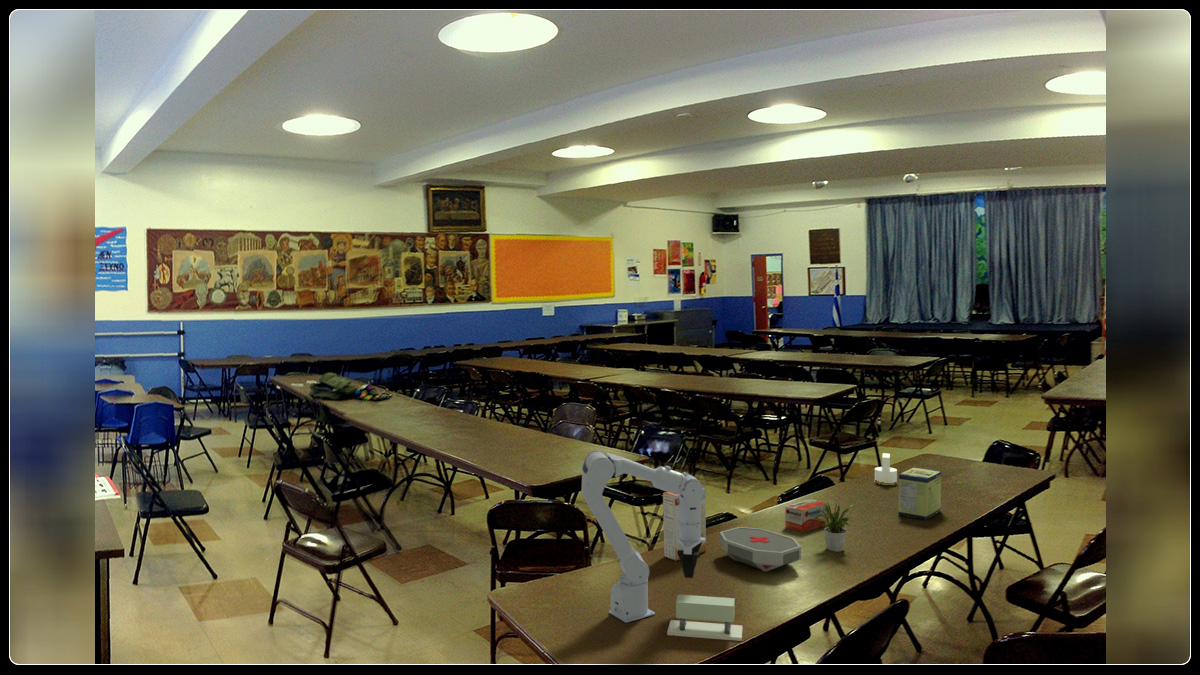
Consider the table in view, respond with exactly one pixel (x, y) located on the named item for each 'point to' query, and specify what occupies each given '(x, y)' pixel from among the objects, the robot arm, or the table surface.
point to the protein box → (919, 493)
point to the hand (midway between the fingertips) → (690, 572)
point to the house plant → (835, 528)
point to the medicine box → (805, 515)
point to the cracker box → (673, 525)
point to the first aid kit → (760, 547)
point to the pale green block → (705, 608)
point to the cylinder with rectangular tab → (886, 471)
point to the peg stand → (705, 630)
